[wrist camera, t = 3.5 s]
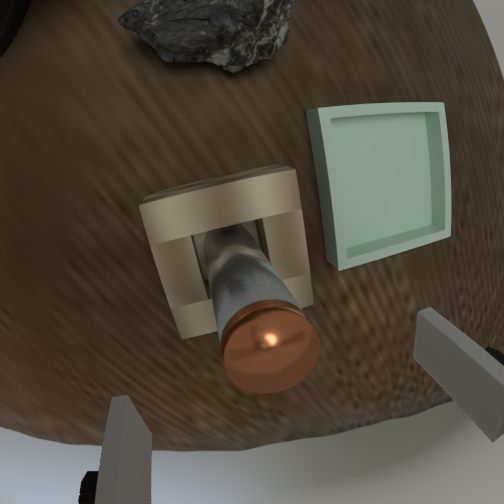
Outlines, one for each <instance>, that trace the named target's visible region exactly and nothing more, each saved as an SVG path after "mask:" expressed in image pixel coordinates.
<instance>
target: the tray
mask: <svg viewBox="0 0 504 504" xmlns="http://www.w3.org/2000/svg"><path fill="white" fill-rule="evenodd" d="M305 112H306V118H307V124H308V129H309V135H310V141H311V147H312V153H313V160H314V166H315V173H316V180H317V187H318V194H319V201H320V209H321V217H322V225H323V234H324V242H325V252H326V260H327V261H328V262H329V263H330V264H331V265H333V266H334V267H335V268H336V269H337V270H338V271H340V270H344V269H347V268H351V267H354V266H357V265H361V264H364V263H367V262H371V261H374V260H377V259H381V258H384V257H387V256H390V255H394V254H397V253H400V252H403V251H406V250H409V249H413V248H416V247H419V246H422V245H425V244H428V243H431V242H434V241H437V240H440V239H443V238H446V237H449V236H451V176H450V158H449V144H448V134H447V124H446V116H445V108H444V103H442V102H406V103H377V104H360V105H346V106H335V107H325V108H316V109H312V110H307V111H305Z"/></svg>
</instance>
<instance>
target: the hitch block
mask: <svg viewBox="0 0 504 504" xmlns="http://www.w3.org/2000/svg"><path fill="white" fill-rule="evenodd" d="M139 209H140V212H141V216H142V220H143V223H144V227H145V230H146V234H147V237H148V240H149V244H150V247H151V250H152V254H153V257H154V260H155V263H156V266H157V270H158V273H159V276H160V279H161V282H162V285H163V288H164V291H165V294H166V297H167V300H168V303H169V306H170V308H171V311H172V314H173V317H174V320H175V322H176V325H177V328H178V331H179V333H180V336H181V339H186V338H191V337H195V336H199V335H203V334H207V333H211V332H215V331H218V330H217V324H216V319H215V313H214V308H213V302H212V296H211V290H210V284H209V279H208V273H207V266H206V260H205V254H204V248H203V242H204V238H205V235H206V233H207V232H208V231H210V230H214V229H218V228H222V227H226V226H230V225H234V224H239V223H240V224H242V225H243V226H245V227H246V228H247V230H248V231H249V233H250V234H251V235H252V237H253V238H254V240H255V241H256V243H257V244H258V246H259V247H260V249H261V250H262V252H263V253H264V255H265V256H266V258H267V259H268V260H269V262H270V263H271V265H272V266H273V268H274V269H275V271H276V272H277V274H278V275H279V277H280V278H281V280H282V281H283V283H284V284H285V286H286V287H287V289H288V290H289V292H290V293H291V294H292V296H293V297H294V299H295V300H296V302H297V303H298V305H299V306H300V308H304V307H307V306H311V305H314V301H313V292H312V283H311V275H310V267H309V259H308V251H307V243H306V236H305V229H304V222H303V215H302V208H301V201H300V195H299V188H298V182H297V176H296V169H294V168H290V167H287V166H283V165H279V164H276V165H271V166H265V167H261V168H256V169H251V170H246V171H241V172H237V173H232V174H228V175H223V176H219V177H214V178H210V179H206V180H202V181H197V182H193V183H189V184H185V185H181V186H177V187H173V188H169V189H166V190H162V191H158V192H154V193H151V194H147V195H146V196H145V198H144V199H143V200H142V202H141V203H140V204H139Z"/></svg>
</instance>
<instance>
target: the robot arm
mask: <svg viewBox="0 0 504 504" xmlns="http://www.w3.org/2000/svg"><path fill="white" fill-rule="evenodd" d="M28 2H29V0H0V56H1V55H2V54H3V53H4V51H5V50H6V48H7V47H8V45H9V44H10V42H11V41H12V39H13V38H14V36H15V34H16V32H17V30H18V29H19V27H20V25H21V22H22V20H23V18H24V15H25V12H26V9H27V6H28ZM413 358H414V359H415V360H416V361H417V362H418V363H419V364H420V365H421V366H422V367H423V368H424V369H425V370H426V371H427V372H428V373H429V374H430V375H431V377H432V378H433V379H434V380H435V381H436V382H437V383H438V384H439V385H440V386H441V387H442V388H443V389H444V390H445V391H446V392H447V393H448V395H449V396H450V397H451V398H452V399H453V400H454V401H455V402H456V403H457V404H458V405H459V406H460V407H461V408H462V410H463V411H464V412H465V413H466V414H467V415H468V416H469V417H470V418H471V419H472V420H473V421H474V423H475V424H476V425H477V426H478V427H479V428H480V429H481V430H482V431H483V433H484V434H485V435H486V436H487V437H488V438H489V439H490V440H491V441H492V442H494V441H495V440H496V439H498V438H499V437H500V436H501V435H503V434H504V355H503V354H502V353H501V352H500V351H498V350H495V349H493V348H490V347H488V348H486V349H485V350H484V349H483V348H482V347H480V346H479V345H478V344H477V343H475V342H474V341H473V340H472V339H470V338H469V337H468V336H467V335H465V334H464V333H463V332H462V331H460V330H459V329H458V328H457V327H455V326H454V325H453V324H452V323H450V322H449V321H448V320H446V319H445V318H444V317H443V316H441V315H440V314H439V313H437V312H436V311H435V310H433V309H432V308H431V307H428V308H426V309H424V310H422V311H419V312H418V315H417V325H416V335H415V343H414V351H413ZM151 454H152V433H151V432H150V430H149V429H148V427H147V426H146V424H145V423H144V421H143V419H142V418H141V416H140V415H139V413H138V411H137V410H136V408H135V406H134V405H133V403H132V401H131V400H130V398H129V396H128V395H124V396H117V397H112V398H111V403H110V408H109V413H108V419H107V424H106V429H105V435H104V441H103V447H102V453H101V459H100V466H99V471H87V473H86V475H85V477H84V478H83V480H82V481H81V487H80V495H79V500H78V502H79V504H151V456H152V455H151Z"/></svg>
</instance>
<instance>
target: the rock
mask: <svg viewBox="0 0 504 504" xmlns="http://www.w3.org/2000/svg"><path fill="white" fill-rule="evenodd" d="M295 4H296V0H140V1H139V2H138V3H137V4H135V5H134V6H133V7H131V8H130V9H129V10H128V11H126V12H125V13H123V14H122V15H121V16H120V17H119V18H118V22H119V24H120V25H121V26H123V27H124V28H126V29H127V30H130V31H133V32H137V35H138V36H139V37H140V38H141V39H142V40H144V41H146V42H147V43H148V44H150V45H151V46H152V47H153V48H154V49H155V50H156V52H157V54H158V56H160V57H161V59H162V60H163V61H165V62H169V63H172V62H173V61H174V62H176V63H180V64H186V63H192V62H205V61H206V62H211V63H214V64H216V65H217V66H222V68H223V69H224V70H227V71H229V72H232V73H237V72H239V71H240V70H241V69H243V68H245V67H248V66H249V65H252V64H256V63H257V62H258V61H259V60H261V59H265V60H270V59H272V57H273V55H274V54H275V52H276V51H278V48H279V47H280V46H281V45H283V44H285V43H286V41H287V36H288V33H289V28H288V25H287V22H288V20H289V17H290V15H291V13H292V12H293V11H294V10H295V9H294V6H295Z"/></svg>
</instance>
